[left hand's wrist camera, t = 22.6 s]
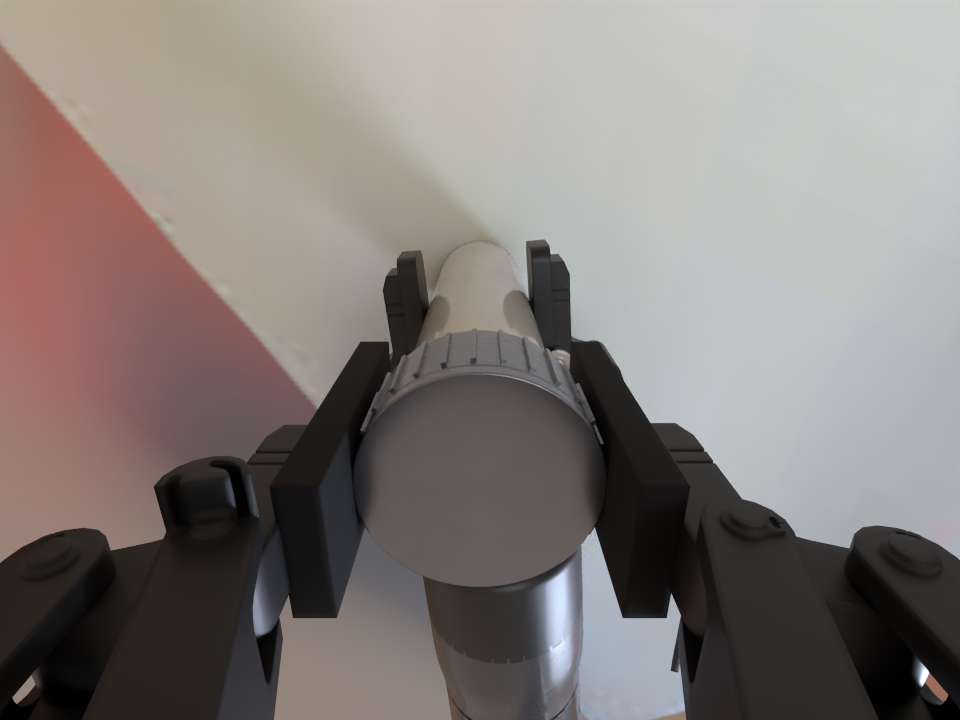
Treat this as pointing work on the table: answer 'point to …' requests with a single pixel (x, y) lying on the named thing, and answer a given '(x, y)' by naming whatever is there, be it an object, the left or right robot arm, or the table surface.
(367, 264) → the table surface
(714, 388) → the table surface
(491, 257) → the jar
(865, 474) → the table surface
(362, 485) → the lid
